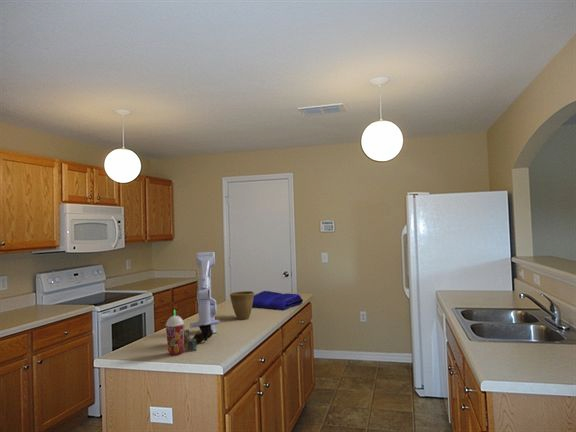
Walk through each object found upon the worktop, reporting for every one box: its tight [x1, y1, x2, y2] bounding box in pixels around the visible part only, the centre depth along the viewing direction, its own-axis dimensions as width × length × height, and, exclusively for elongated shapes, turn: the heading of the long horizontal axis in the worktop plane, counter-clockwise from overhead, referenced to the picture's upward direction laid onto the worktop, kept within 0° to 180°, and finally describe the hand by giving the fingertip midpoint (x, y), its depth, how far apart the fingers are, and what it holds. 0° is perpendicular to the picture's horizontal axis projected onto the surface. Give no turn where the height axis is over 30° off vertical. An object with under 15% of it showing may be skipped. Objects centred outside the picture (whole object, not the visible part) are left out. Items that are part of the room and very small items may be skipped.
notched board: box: [184, 329, 197, 352], centre depth 196 cm, size 22×3×5 cm, turn 23°
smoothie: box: [165, 309, 185, 356], centre depth 183 cm, size 8×8×20 cm
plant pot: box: [229, 290, 255, 321], centre depth 249 cm, size 15×15×16 cm
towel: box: [252, 290, 304, 311], centre depth 288 cm, size 26×36×9 cm
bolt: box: [191, 329, 214, 344], centre depth 203 cm, size 6×5×15 cm
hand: (205, 340), depth 199 cm, fingers closed
